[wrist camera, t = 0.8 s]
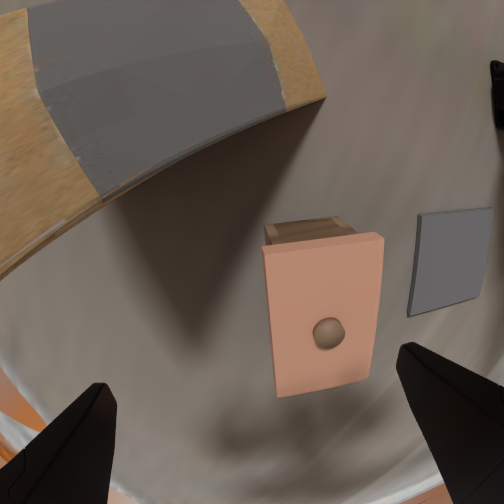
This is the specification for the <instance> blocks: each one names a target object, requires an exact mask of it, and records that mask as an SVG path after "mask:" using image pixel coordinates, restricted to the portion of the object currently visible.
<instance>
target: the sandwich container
mask: <svg viewBox="0 0 504 504" xmlns="http://www.w3.org/2000/svg"><path fill="white" fill-rule="evenodd" d="M326 97H327V93H326V90H325V87H324V85H323V82H322V79H321V77H320V74H319V71H318V69H317V66H316V64H315V61H314V59H313V56H312V54H311V51H310V49H309V47H308V44H307V42H306V40H305V38H304V36H303V34H302V32H301V30H300V28H299V27H298V25H297V23H296V21H295V19H294V17H293V16H292V14H291V12H290V10H289V9H288V7H287V5H286V3H285V2H284V0H55V1H51V2H47V3H43V4H39V5H35V6H31V7H28V8H24V9H20V10H17V11H14V12H10V13H7V14H4V15H1V16H0V281H1V280H2V279H3V278H4V277H6V276H7V275H8V274H9V273H10V272H12V271H13V270H14V269H16V268H17V267H18V266H19V265H21V264H22V263H23V262H25V261H26V260H27V259H29V258H30V257H31V256H33V255H34V254H35V253H37V252H38V251H40V250H41V249H42V248H44V247H45V246H46V245H48V244H49V243H51V242H52V241H54V240H55V239H56V238H58V237H59V236H61V235H62V234H64V233H65V232H67V231H68V230H69V229H71V228H72V227H74V226H75V225H77V224H78V223H80V222H81V221H83V220H84V219H86V218H87V217H89V216H90V215H92V214H93V213H95V212H96V211H98V210H99V209H101V208H102V207H104V206H105V205H107V204H108V203H110V202H112V201H113V200H115V199H116V198H118V197H119V196H121V195H123V194H124V193H126V192H127V191H129V190H131V189H132V188H134V187H135V186H137V185H139V184H140V183H142V182H144V181H145V180H147V179H149V178H150V177H152V176H154V175H155V174H157V173H159V172H161V171H162V170H164V169H166V168H168V167H169V166H171V165H173V164H175V163H177V162H178V161H180V160H182V159H184V158H186V157H188V156H190V155H192V154H194V153H196V152H198V151H200V150H202V149H204V148H206V147H208V146H210V145H213V144H215V143H217V142H219V141H221V140H223V139H225V138H227V137H230V136H232V135H234V134H236V133H238V132H241V131H243V130H245V129H248V128H250V127H252V126H254V125H257V124H259V123H261V122H264V121H266V120H269V119H271V118H273V117H276V116H278V115H281V114H283V113H286V112H289V111H291V110H294V109H296V108H299V107H302V106H304V105H307V104H310V103H312V102H315V101H318V100H321V99H324V98H326Z"/></svg>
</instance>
